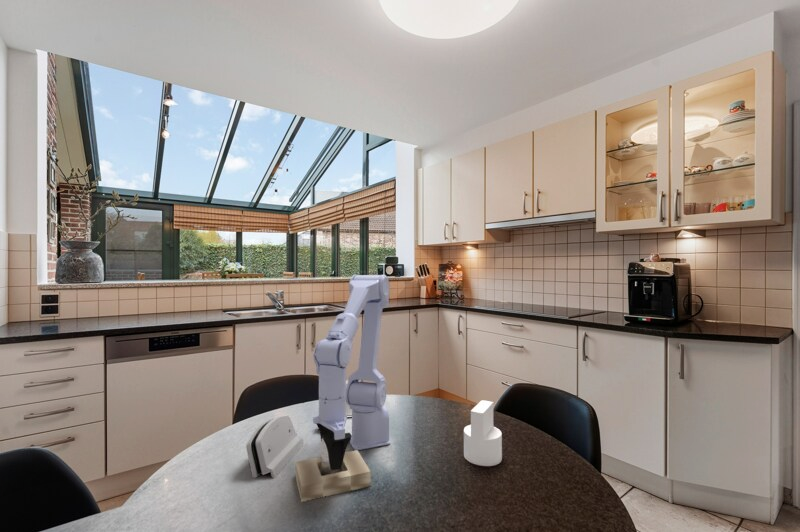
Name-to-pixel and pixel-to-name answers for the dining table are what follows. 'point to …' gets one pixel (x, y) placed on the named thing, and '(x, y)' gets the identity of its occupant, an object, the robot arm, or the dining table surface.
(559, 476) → the dining table surface
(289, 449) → the white slotted housing
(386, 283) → the robot arm
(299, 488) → the hole plate
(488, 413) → the base with upright slab
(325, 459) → the tall pin
